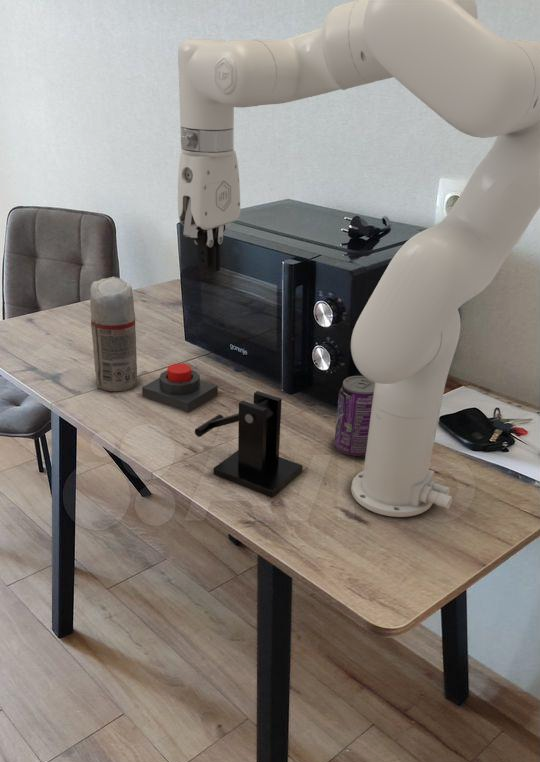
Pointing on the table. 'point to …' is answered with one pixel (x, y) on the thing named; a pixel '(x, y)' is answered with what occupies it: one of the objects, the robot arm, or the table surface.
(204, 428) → the lever
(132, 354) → the spray can
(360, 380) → the beverage can
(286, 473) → the bracket
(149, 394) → the button block
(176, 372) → the button
